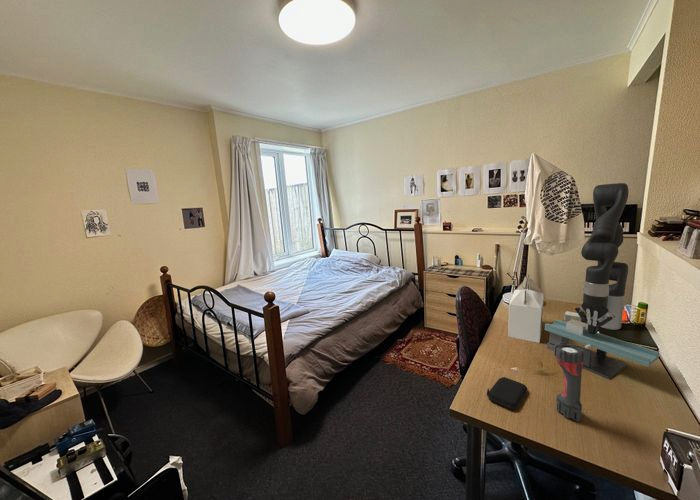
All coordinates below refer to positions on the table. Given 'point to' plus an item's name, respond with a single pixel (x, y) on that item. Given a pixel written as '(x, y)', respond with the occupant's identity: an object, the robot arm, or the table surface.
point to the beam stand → (598, 362)
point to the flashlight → (570, 379)
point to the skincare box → (571, 316)
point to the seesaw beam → (602, 343)
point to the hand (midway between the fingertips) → (592, 333)
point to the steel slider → (577, 327)
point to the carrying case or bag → (507, 393)
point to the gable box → (526, 312)
